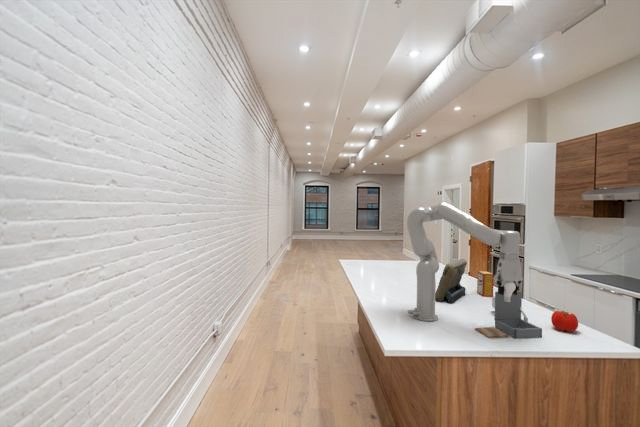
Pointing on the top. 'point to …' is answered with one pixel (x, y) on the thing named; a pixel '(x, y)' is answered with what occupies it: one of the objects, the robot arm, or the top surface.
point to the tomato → (564, 321)
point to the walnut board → (491, 332)
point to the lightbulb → (508, 290)
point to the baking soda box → (485, 284)
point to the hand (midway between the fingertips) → (507, 293)
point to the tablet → (451, 282)
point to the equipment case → (513, 318)
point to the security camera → (493, 305)
